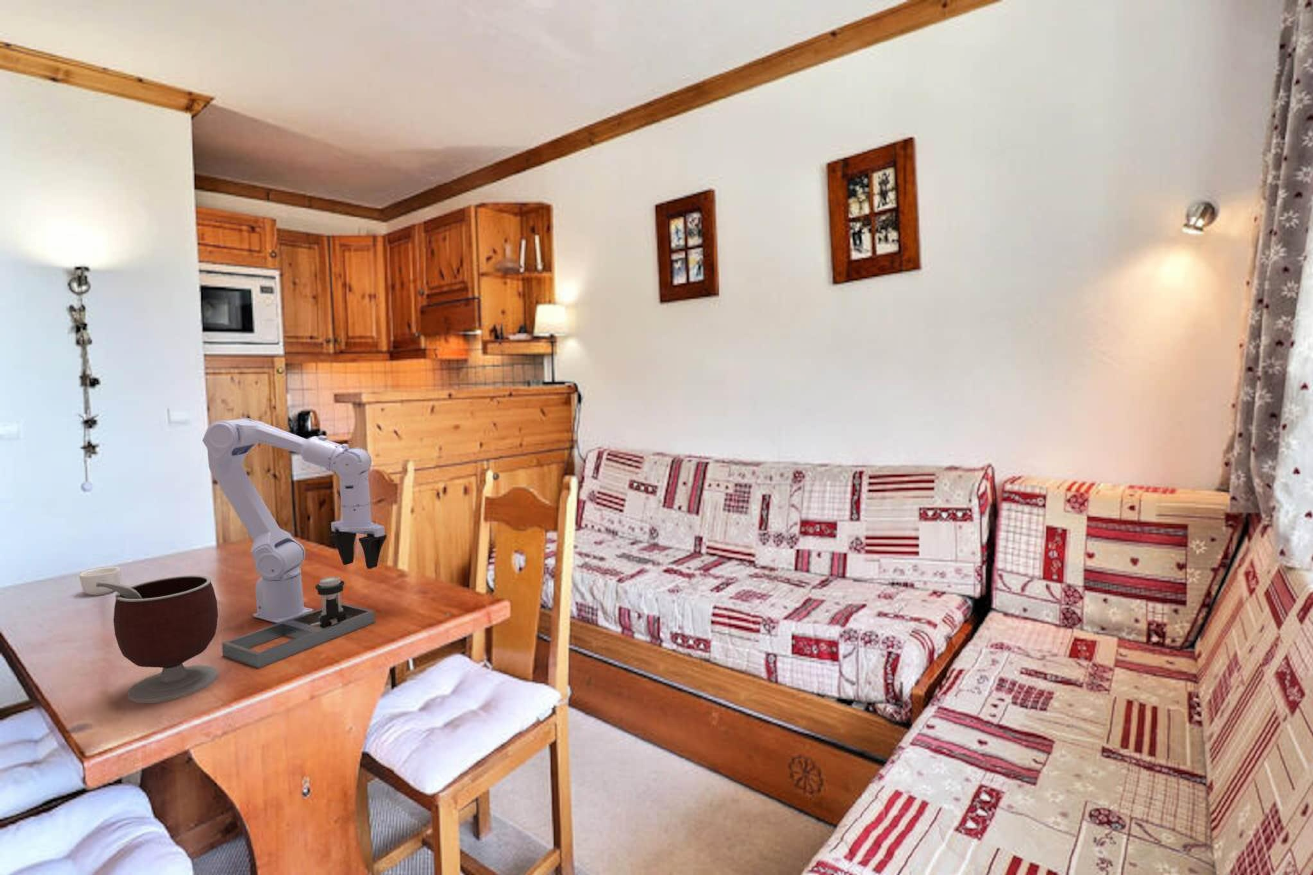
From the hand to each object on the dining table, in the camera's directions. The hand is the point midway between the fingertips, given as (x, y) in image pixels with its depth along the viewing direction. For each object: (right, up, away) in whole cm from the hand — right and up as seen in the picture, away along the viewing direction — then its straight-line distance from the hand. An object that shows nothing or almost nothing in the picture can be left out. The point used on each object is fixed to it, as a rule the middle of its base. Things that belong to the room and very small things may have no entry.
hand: (360, 565), depth 142 cm
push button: (-3, -11, -8) cm, 14 cm away
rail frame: (-5, -12, -13) cm, 18 cm away
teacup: (-73, -11, +20) cm, 76 cm away
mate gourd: (-18, -14, -32) cm, 39 cm away
